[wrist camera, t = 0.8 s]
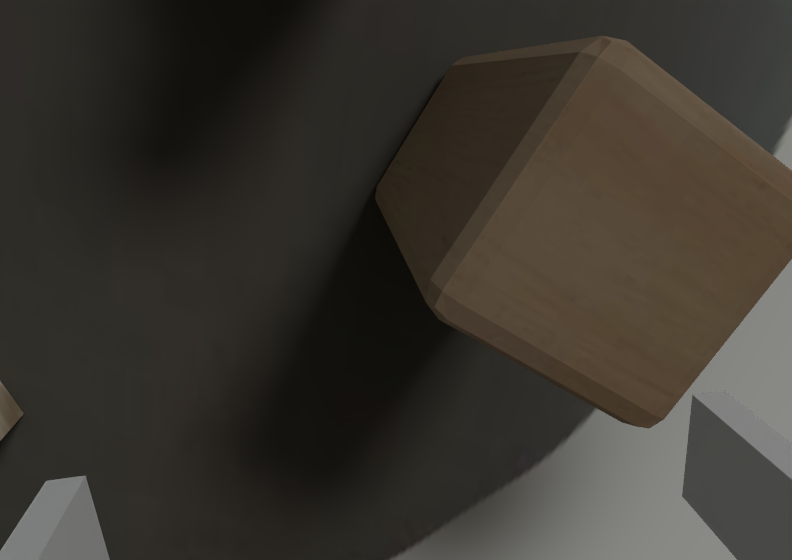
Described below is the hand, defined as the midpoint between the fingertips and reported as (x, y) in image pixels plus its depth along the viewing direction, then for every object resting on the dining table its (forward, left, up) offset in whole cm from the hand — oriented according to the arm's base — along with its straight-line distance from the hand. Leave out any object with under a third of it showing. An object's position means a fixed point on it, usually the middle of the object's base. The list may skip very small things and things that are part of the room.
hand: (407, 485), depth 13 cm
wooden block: (0, +9, -26) cm, 27 cm away
